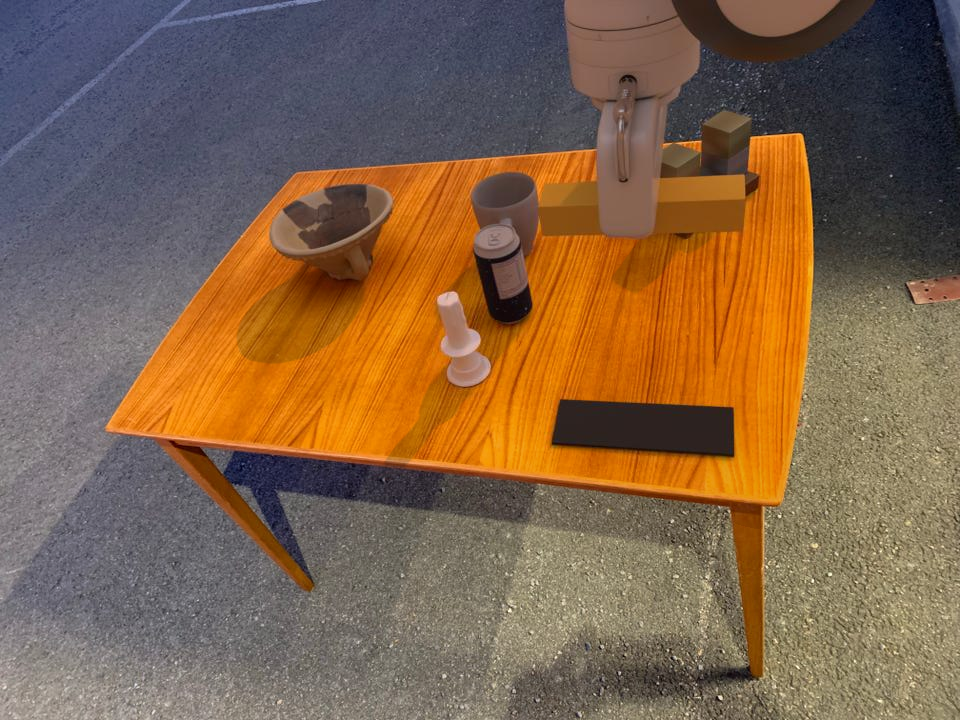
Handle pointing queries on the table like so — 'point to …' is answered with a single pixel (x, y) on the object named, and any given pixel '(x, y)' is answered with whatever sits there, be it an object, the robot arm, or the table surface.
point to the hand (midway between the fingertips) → (640, 215)
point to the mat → (645, 427)
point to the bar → (677, 211)
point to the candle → (461, 344)
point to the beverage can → (503, 273)
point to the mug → (508, 205)
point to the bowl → (333, 228)
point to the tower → (714, 153)
